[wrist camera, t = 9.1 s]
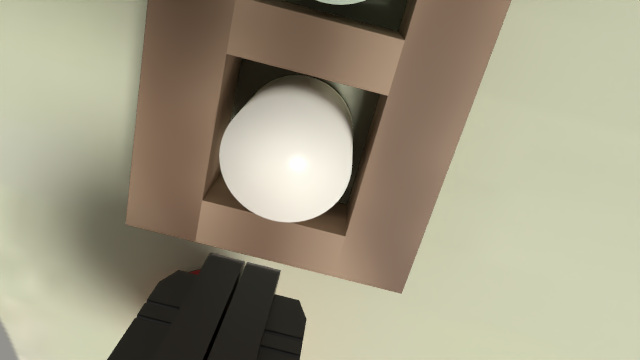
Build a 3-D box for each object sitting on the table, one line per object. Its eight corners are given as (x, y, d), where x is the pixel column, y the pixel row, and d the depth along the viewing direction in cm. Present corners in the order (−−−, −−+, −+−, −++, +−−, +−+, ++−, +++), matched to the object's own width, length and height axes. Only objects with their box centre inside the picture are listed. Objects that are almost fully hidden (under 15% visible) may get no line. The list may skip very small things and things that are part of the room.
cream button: (366, 91, 21) (367, 116, 17) (337, 193, 22) (333, 235, 19) (254, 62, 21) (231, 81, 17) (234, 166, 22) (210, 204, 19)
